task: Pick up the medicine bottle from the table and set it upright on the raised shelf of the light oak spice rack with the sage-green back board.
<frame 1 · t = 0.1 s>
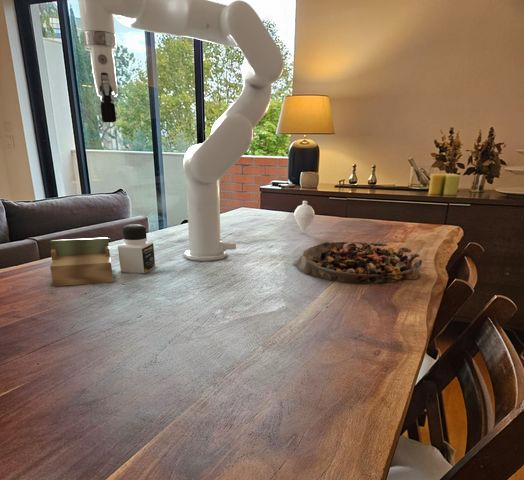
hand: (109, 121, 118), 37 cm above the table, tool pointing down, fingers open, 9 cm apart
spinning top: (303, 233, 176), on the table
spice rack: (84, 278, 118), on the table
medicine bottle: (138, 270, 126), on the table
food dish: (356, 268, 131), on the table
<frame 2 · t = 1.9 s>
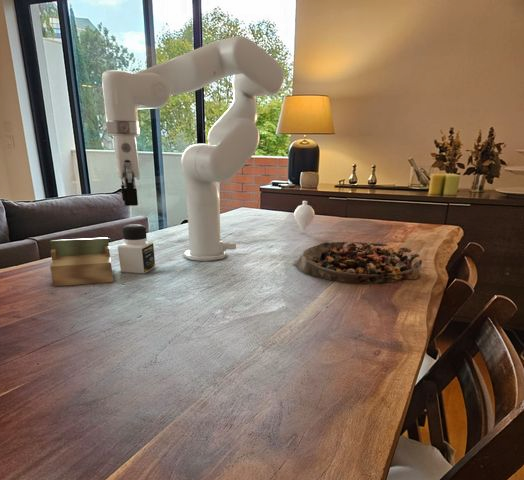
hand: (130, 203, 118), 18 cm above the table, tool pointing down, fingers open, 9 cm apart
nothing on the table moved.
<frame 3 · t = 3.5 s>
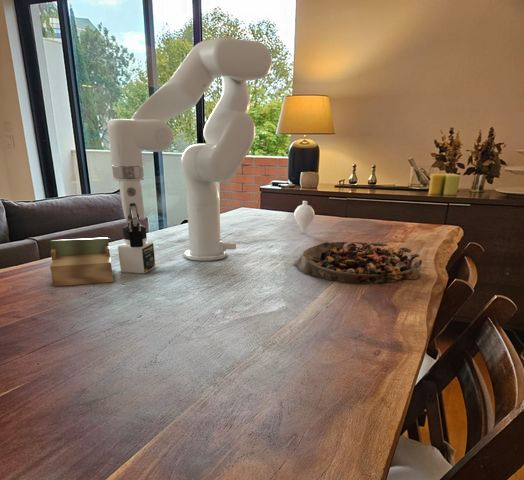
hand: (135, 243, 123), 7 cm above the table, tool pointing down, fingers closed on medicine bottle, 7 cm apart
medicine bottle: (138, 270, 126), on the table, touching gripper
everything else where it was.
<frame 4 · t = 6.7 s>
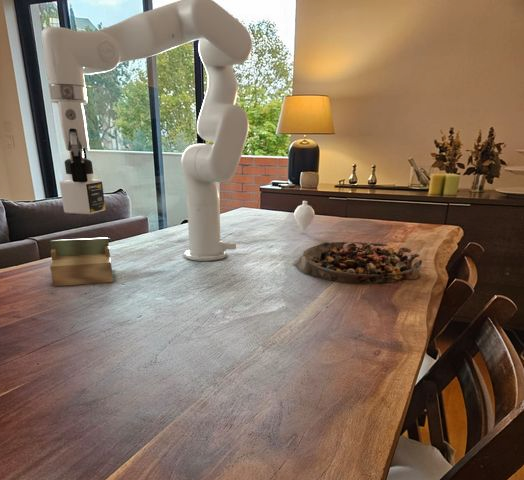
hand: (80, 179, 108), 24 cm above the table, tool pointing down, fingers closed on medicine bottle, 7 cm apart
medicine bottle: (85, 212, 112), point 16 cm above the table, touching gripper
everything else where it was.
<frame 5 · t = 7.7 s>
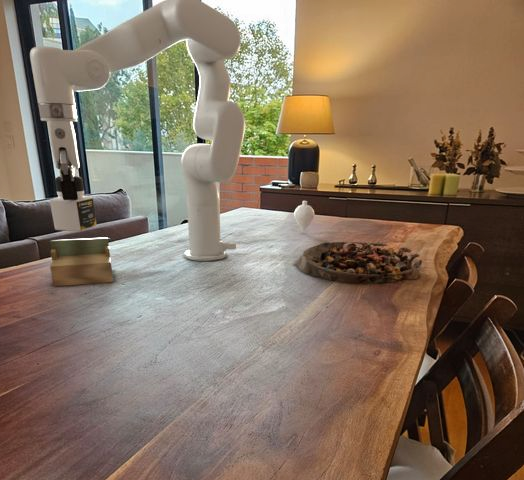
hand: (71, 197, 108), 20 cm above the table, tool pointing down, fingers closed on medicine bottle, 7 cm apart
medicine bottle: (76, 229, 111), point 13 cm above the table, touching gripper
everything else where it was.
when the fingers open (12 cm above the table, at t = 10.2 s): medicine bottle stays where it is, resting on spice rack.
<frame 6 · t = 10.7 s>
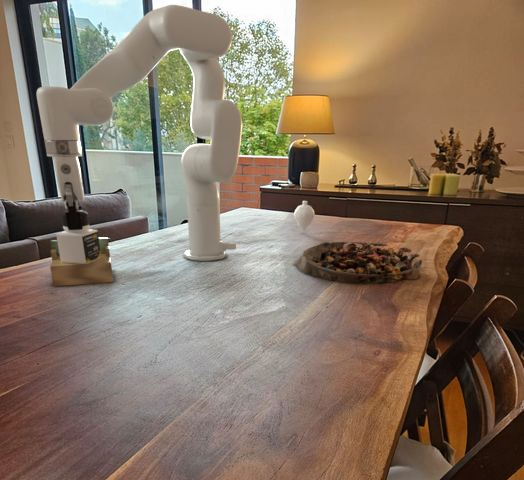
hand: (76, 225, 111), 14 cm above the table, tool pointing down, fingers open, 9 cm apart
medicine bottle: (81, 261, 115), point 5 cm above the table, touching spice rack
everything else where it was.
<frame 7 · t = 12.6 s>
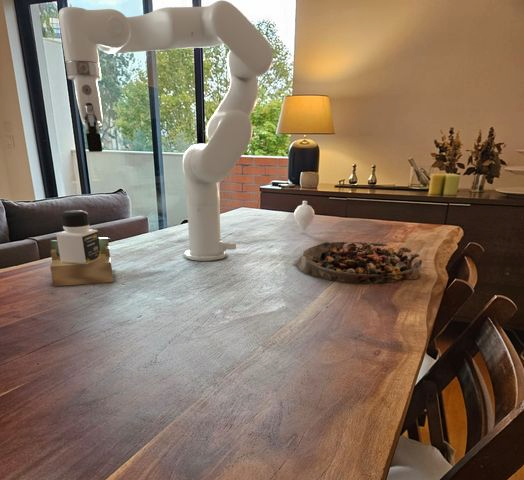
hand: (95, 151, 116), 30 cm above the table, tool pointing down, fingers open, 9 cm apart
nothing on the table moved.
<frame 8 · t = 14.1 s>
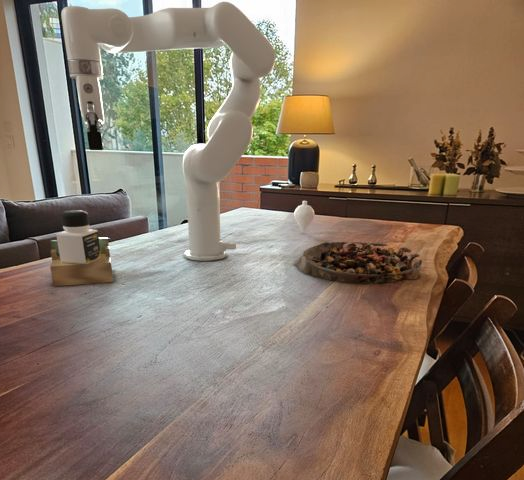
hand: (96, 149, 116), 30 cm above the table, tool pointing down, fingers open, 9 cm apart
nothing on the table moved.
at the end: medicine bottle inside the target area on the spice rack (0.1 cm from its centre), point 4.8 cm above the spice rack's base; medicine bottle tilted 0°; the gripper is holding nothing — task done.
